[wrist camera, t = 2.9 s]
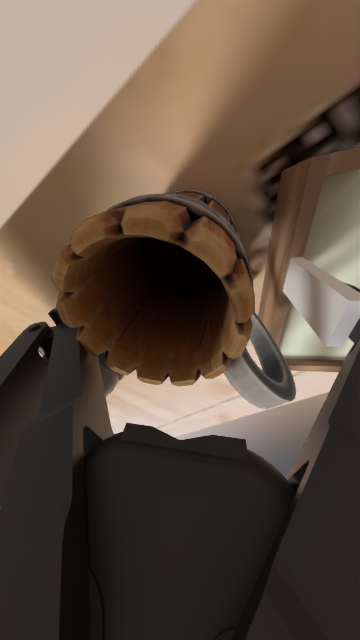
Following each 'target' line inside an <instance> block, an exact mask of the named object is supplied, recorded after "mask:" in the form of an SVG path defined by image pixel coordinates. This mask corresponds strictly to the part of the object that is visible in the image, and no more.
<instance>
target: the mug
mask: <svg viewBox="0 0 360 640" xmlns="http://www.w3.org/2000/svg"><path fill="white" fill-rule="evenodd" d="M207 198H208V199H209V201H208V202H207ZM229 219H230V220H229ZM52 281H53V283H54V285H55V287H56V289H57V290H60V291H61V292H60V293H59V297H58V301H57V305H56V308H57V310H58V313H59V315H60V317H61V319H62V321H63V323H65V324H66V325H67V326H68V327H69V328H76V327H79V329H78V332H77V337H76V338H77V341H80V343H81V344H82V346H83V347H84V348H85V350H86V351H87V352H88V353H89V354H91V355H93V356H95V357H96V356H98V355H100V354H102V353H105V364H106V365H107V367H108V368H110V369H112V370H113V371H115V372H117V373H119V374H122V375H128V374H130V373H131V372H133V371H134V370H135V369H136V370H137V378H138V379H139V380H140V381H142V382H144V383H149V384H154V385H159V384H162V383H163V382H164V381H165V380H166V379H167V377H168V376H169V377H170V380H171V383H172V385H176V386H187V385H193V384H194V383H195V382H196V381H197V380H198V378H199V377H200V375H201V374H202V376H203V377H204V378H205V379H212V378H215V377H217V376H219V375H220V374H222V373H224V374H225V376H226V377H227V379H228V380H229V382H230V383H231V385H232V386H233V387H234V388H235V389H236V391H237V392H238V393H239V394H240V395H241V396H242V397H244V398H245V399H246V400H247V401H248V402H250V403H251V404H253V405H255V406H256V407H258V408H262V409H268V408H271V407H274V406H277V405H280V404H283V403H286V402H289V401H292V400H294V399H295V395H296V388H295V383H294V379H293V376H292V373H291V371H290V369H289V366H288V364H287V362H286V360H285V358H284V356H283V355H282V353H281V351H280V349H279V347H278V346H277V344H276V342H275V340H274V339H273V337H272V335H271V334H270V332H269V331H268V329H267V328H266V327H265V325H264V324H263V322H262V321H261V320H260V318H259V317H258V316H257V315H256V313H255V295H254V290H253V272H252V270H251V267H250V264H249V261H248V258H247V255H246V253H245V250H244V247H243V244H242V242H241V239H240V237H239V233H238V230H237V227H236V225H235V222H234V219H233V216H232V214H231V213H230V212H229V210H228V209H227V208H226V206H225V205H224V204H223V203H222V202H221V201H220V200H218V199H217V198H215V197H214V196H213V195H211V194H209V193H206V192H203V191H199V190H196V189H192V190H177V191H175V192H172V193H170V194H151V195H143V196H137V197H134V198H131V199H129V200H127V201H124V202H122V203H119V204H117V205H115V206H112V207H110V208H109V209H108V210H107V211H105V212H103V213H101V214H98V215H96V216H93V217H91V218H88V219H86V220H85V221H84V222H83V223H82V224H81V225H80V227H79V228H78V229H77V230H76V231H75V232H74V233H73V235H72V239H71V244H70V245H67V246H65V247H64V248H63V250H62V252H61V253H60V255H59V257H58V258H57V260H56V262H55V265H54V269H53V275H52ZM249 338H250V340H251V342H252V344H253V346H254V348H255V351H256V353H257V356H258V358H259V361H260V363H261V366H262V370H263V371H262V370H261V369H260V368H259V367H258V366H257V365H256V363H255V362H254V361H253V359H252V358H251V356H250V355H249V353H248V351H247V349H246V346H247V343H248V341H249Z"/></svg>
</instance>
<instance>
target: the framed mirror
mask: <svg viewBox="0 0 360 640" xmlns="http://www.w3.org/2000/svg"><path fill="white" fill-rule="evenodd" d="M298 257H303V258H305V259H306V260H308V261H309V262H311V263H313V264H314V265H316V266H317V267H319V268H321V269H322V270H324V271H325V272H327V273H329V274H330V275H332V276H334V277H335V278H337V279H338V280H340V281H342V282H344V283H347V284H350V285H353V286H355V287H357V288H359V289H360V147H356V148H351V149H347V150H342V151H337V152H333V153H328V154H324V155H319V156H314V157H311V158H309V159H307V160H305V161H302V162H300V163H298V164H296V165H294V166H292V167H290V168H287V169H285V170H283V171H281V177H280V183H279V190H278V196H277V202H276V208H275V215H274V221H273V227H272V234H271V240H270V246H269V253H268V259H267V265H266V271H265V278H264V284H263V290H262V297H261V303H260V309H259V315H258V317H259V318H260V320H261V321H262V322H263V324H264V325H265V327H266V328H267V329H268V331H269V332H270V334H271V335H272V337H273V339H274V340H275V342H276V344H277V346H278V347H279V349H280V351H281V353H282V355H283V356H284V358H285V360H286V362H287V364H288V366H289V369H290V370H293V371H322V372H340V370H341V368H342V366H343V363H344V361H345V359H344V358H345V357H346V355H347V354H348V352H349V351H350V349H351V348H352V346H353V345H354V343H353V342H352V341H351V340H350V339H349V338H348V340H347V341H346V343H345V344H344V346H343V347H326V346H325V345H324V344H323V343H322V341H321V340H320V339H319V337H318V336H317V335H316V333H315V332H314V331H313V330H312V328H311V327H310V326H309V324H308V323H307V322H306V321H305V319H304V318H303V317H302V315H301V314H300V313H299V312H298V310H297V309H296V308H295V306H294V305H293V304H292V302H291V301H290V300H289V299H288V297H287V296H286V295H285V293H284V292H283V288H284V284H285V280H286V276H287V271H288V267H289V263H290V259H291V258H298Z"/></svg>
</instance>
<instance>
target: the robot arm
mask: <svg viewBox="0 0 360 640" xmlns="http://www.w3.org/2000/svg"><path fill="white" fill-rule="evenodd" d="M283 292H284V293H285V295H286V296H287V297H288V299H289V300H290V301H291V302H292V304H293V305H294V306H295V308H296V309H297V310H298V312H299V313H300V314H301V315H302V317H303V318H304V319H305V321H306V322H307V323H308V324H309V326H310V327H311V328H312V330H313V331H314V332H315V333H316V335H317V336H318V337H319V339H320V340H321V341H322V343H323V344H324V345H325V346H326V347H343V346H344V344H345V343H346V341H347V340H348V338H349V339H350V340H351V341H352V342H353V343H354V345H353V346H352V348H351V349H350V351H349V352H348V354H347V355H346V357H345V358H344V359H345V361H344V363H343V366H342V368H341V370H340V372H339V374H338V376H337V378H336V380H335V382H334V384H333V386H332V388H331V390H330V392H329V394H328V396H327V399H326V400H325V402H324V404H323V406H322V408H321V410H320V413H319V415H318V417H317V419H316V421H315V423H314V425H313V427H312V429H311V431H310V433H309V435H308V437H307V439H306V441H305V443H304V445H303V447H302V449H301V451H300V453H299V455H298V457H297V459H296V461H295V462H294V464H293V465H292V467H291V469H290V471H289V472H288V474H287V476H286V478H285V477H284V476H283V475H282V474H281V473H280V472H279V471H278V470H277V469H276V468H275V467H274V466H272V464H270V463H269V462H268V461H266V460H265V459H264V458H262V457H261V456H259V455H257V454H256V453H254V452H252V451H250V450H248V449H247V446H246V440H245V439H238V438H230V437H224V436H217V435H209V436H203V437H197V438H191V439H185V440H178V439H176V438H174V437H172V436H170V435H168V434H166V433H164V432H162V431H160V430H158V429H156V428H154V427H152V426H145V425H138V424H131V423H126V426H125V428H124V431H123V432H120V433H117V434H114V433H113V431H112V428H111V424H110V419H109V413H108V408H107V402H106V396H107V395H108V394H109V393H111V392H112V391H113V390H114V388H115V387H116V385H117V383H118V381H119V378H120V375H119V373H117V372H115V371H113V370H112V369H110V368H108V367H107V365H106V364H105V356H104V355H102V354H100V355H98V356H96V357H95V356H93V355H91V354H89V353H88V352H87V351H86V350H85V348H84V347H83V346H82V344H81V343H80V341H77V338H76V337H77V332H78V329H79V327H76V328H69V327H68V326H67V325H66V324H65V323H63V321H62V319H61V317H60V315H59V313H58V310H57V308H55V309H53V310H51V311H50V312H49V313H48V314H49V316H50V317H51V318H52V320H53V321H54V322H55V324H56V326H54V327H49V326H48V324H47V323H46V322H39V323H35V324H32V325H30V326H29V327H28V328H26V329H25V330H24V331H23V332H22V333H21V334H20V335H19V336H18V338H17V339H16V340H15V341H14V342H13V343H12V344H11V345H10V346H9V348H8V349H7V350H6V351H5V352H4V353H3V354H2V355H1V356H0V640H360V289H359V288H357V287H355V286H353V285H350V284H347V283H344V282H342V281H340V280H338V279H337V278H335V277H334V276H332V275H330V274H329V273H327V272H325V271H324V270H322V269H321V268H319V267H317V266H316V265H314V264H313V263H311V262H309V261H308V260H306V259H305V258H303V257H298V258H291V259H290V263H289V267H288V271H287V276H286V280H285V284H284V288H283ZM38 350H39V352H40V353H41V354H42V355H43V358H42V357H41V356H40V354H39V352H38Z"/></svg>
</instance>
